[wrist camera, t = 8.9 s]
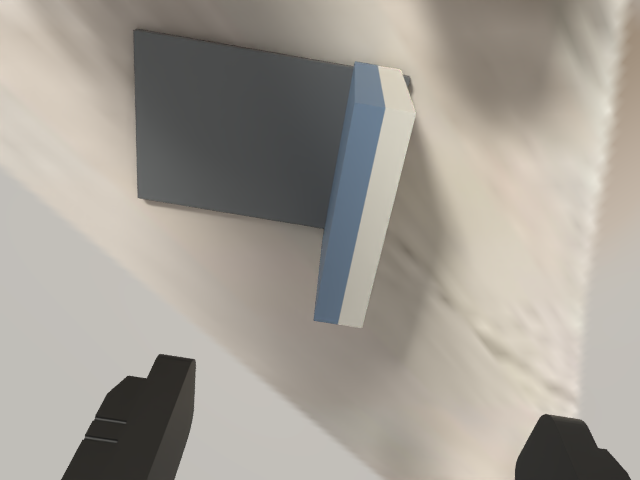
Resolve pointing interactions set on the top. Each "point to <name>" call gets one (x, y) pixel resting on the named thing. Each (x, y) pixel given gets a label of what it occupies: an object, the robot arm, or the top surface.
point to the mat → (237, 128)
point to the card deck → (363, 191)
